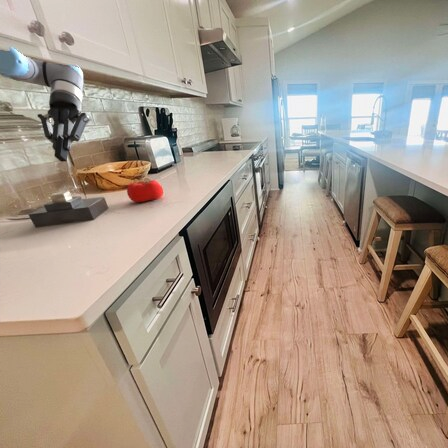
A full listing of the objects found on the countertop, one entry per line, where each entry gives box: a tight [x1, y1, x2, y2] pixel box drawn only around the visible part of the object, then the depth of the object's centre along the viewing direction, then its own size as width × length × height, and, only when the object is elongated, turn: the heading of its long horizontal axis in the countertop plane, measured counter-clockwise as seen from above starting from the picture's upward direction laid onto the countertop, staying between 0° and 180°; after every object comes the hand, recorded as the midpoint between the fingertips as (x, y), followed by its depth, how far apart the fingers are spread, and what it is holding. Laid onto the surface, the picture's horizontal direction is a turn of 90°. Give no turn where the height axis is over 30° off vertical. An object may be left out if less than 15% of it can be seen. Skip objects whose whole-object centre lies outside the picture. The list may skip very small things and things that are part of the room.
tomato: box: [126, 179, 164, 203], centre depth 86 cm, size 10×11×6 cm
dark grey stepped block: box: [28, 195, 109, 229], centre depth 72 cm, size 14×11×6 cm
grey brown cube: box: [49, 191, 73, 203], centre depth 69 cm, size 3×3×2 cm
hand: (60, 158), depth 71 cm, fingers closed
